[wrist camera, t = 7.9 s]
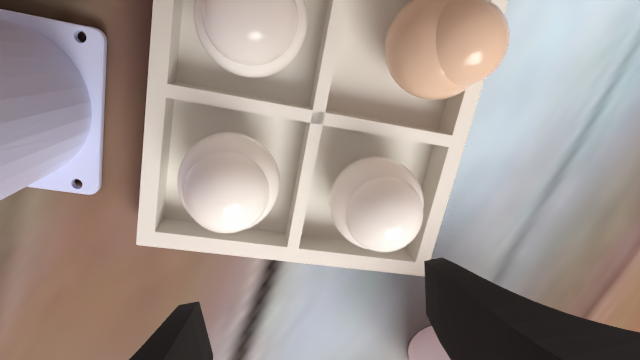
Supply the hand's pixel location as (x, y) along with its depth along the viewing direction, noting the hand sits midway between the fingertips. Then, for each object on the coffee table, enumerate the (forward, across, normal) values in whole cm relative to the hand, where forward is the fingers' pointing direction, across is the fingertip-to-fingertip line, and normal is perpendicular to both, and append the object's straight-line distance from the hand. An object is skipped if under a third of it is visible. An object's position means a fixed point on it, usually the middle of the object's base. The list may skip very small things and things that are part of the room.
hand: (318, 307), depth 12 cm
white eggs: (+10, -2, -5) cm, 11 cm away
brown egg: (+9, -6, -7) cm, 13 cm away
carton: (+10, -2, -5) cm, 11 cm away
